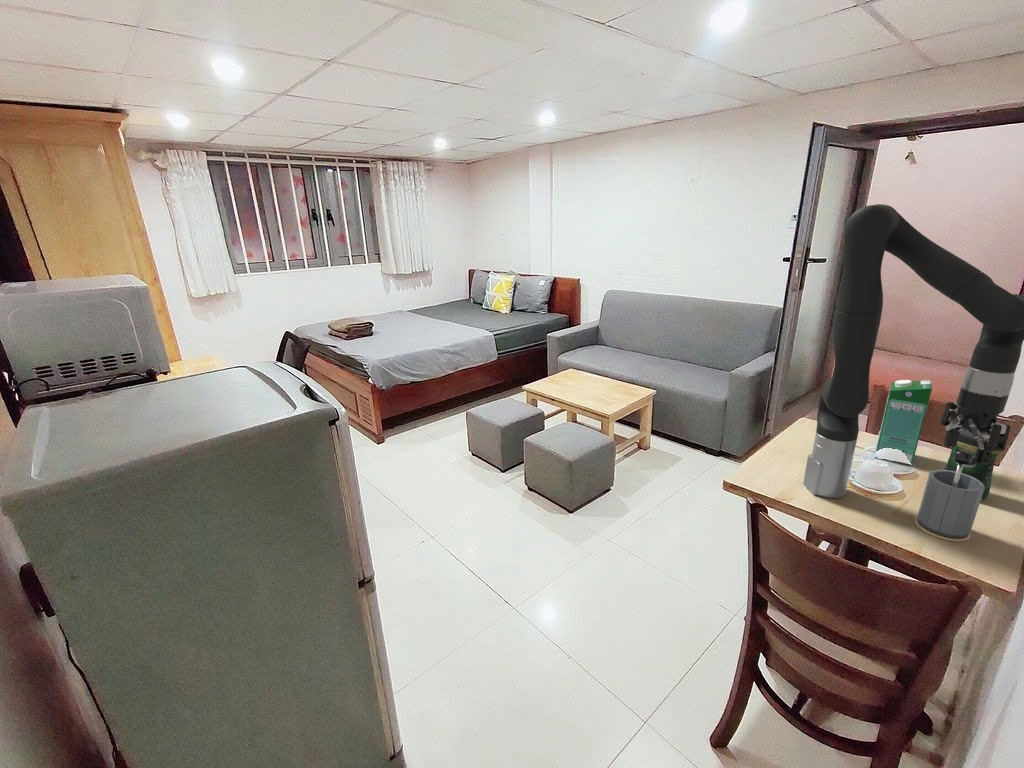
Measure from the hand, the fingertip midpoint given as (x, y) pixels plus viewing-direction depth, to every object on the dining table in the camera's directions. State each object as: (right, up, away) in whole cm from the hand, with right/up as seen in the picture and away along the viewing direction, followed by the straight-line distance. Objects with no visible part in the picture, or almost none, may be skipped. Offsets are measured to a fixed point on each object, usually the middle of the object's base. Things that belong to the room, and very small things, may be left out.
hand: (964, 454), depth 106 cm
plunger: (+1, -18, +6) cm, 19 cm away
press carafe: (+1, -19, +7) cm, 20 cm away
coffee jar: (+20, -13, +21) cm, 32 cm away
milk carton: (+17, -7, +40) cm, 44 cm away
